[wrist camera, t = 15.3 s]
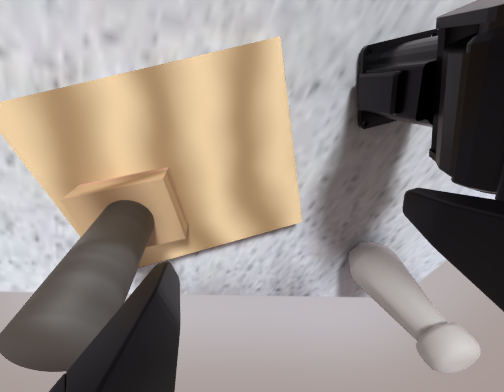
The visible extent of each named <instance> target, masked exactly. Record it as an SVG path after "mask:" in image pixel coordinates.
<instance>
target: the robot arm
mask: <svg viewBox="0 0 504 392" xmlns="http://www.w3.org/2000/svg"><path fill="white" fill-rule="evenodd" d="M437 29H438V30H437ZM431 35H432V37H431ZM367 50H369V54H368V56H367V55H366V52H367ZM358 109H359V111H358V126H359V127H360V128H363V129H367V128H370V127H374V126H378V125H382V124H386V123H389V122H393V121H397V120H398V121H403V122H408V123H414V124H419V125H424V126H429V127H433V129H432V146H431V148H430V150H429V156H430V157H431V158H432V159H433V160H434V161H436V163H437V165H438V167H439V169H441V170H442V171H444V172H445V173H446V174H448V175H449V176H451V177H452V178H451V180H452V182H454V183H456V184H458V185H461V186H464V187H467V188H470V189H474V190H477V191H480V192H484V193H490V194H496V196H495V199H496V200H493V199H487V198H481V197H474V196H468V195H461V194H455V193H449V192H442V191H436V190H429V189H423V188H415V189H411V190H408V191H406V193H405V195H404V202H403V213H404V215H405V216H406V217H407V218H408V219H409V221H410V222H411V223H412V224H413V225H414V226H415V227H416V228H417V229H418V230H419V232H420V233H421V234H422V235H423V236H424V237H425V238H426V239H427V240H428V242H429V243H430V244H431V245H432V246H433V247H434V248H435V249H436V250H437V251H438V252H439V253H441V254H442V255H443V256H444V257H445V258H446V259H447V260H448V261H449V262H450V263H451V264H453V265H454V266H455V267H456V268H457V269H458V270H459V271H460V272H461V273H462V274H463V275H464V276H466V277H467V278H468V279H469V280H470V281H471V282H472V283H473V284H475V286H476V287H477V288H479V289H480V290H481V291H482V292H483V293H484V294H485V295H486V296H487V297H488V298H489V299H491V300H492V301H493V302H494V303H495V304H496V305H497V306H498V307H499V308H500V309H502V310H503V311H504V0H477V1H475V2H472V3H470V4H468V5H465V6H463V7H461V8H458V9H456V10H454V11H451V12H449V13H446V14H444V15H442V16H439V17H437V21H436V29H433V30H429V31H425V32H421V33H417V34H413V35H409V36H404V37H400V38H396V39H392V40H388V41H384V42H380V43H376V44H371V45H367V46H365V47H363V48H362V50H361V53H360V76H359V79H358ZM364 121H366V123H365V125H363V123H364ZM179 336H180V282H179V277H178V275H177V273H176V272H175V270H174V268H173V266H172V265H171V263H170V262H168V261H166V262H163V263H159V264H157V265H156V266H155V267H154V268H153V269H152V270H151V272H150V273H149V274H148V275H147V276H146V277H145V279H144V280H143V281H142V282H141V283H140V285H139V286H138V287H137V288H136V289H135V290H134V292H133V293H132V294H131V295H130V297H129V298H128V299H127V300H126V301H125V302H124V303H123V305H122V306H121V307H120V308H119V309H118V311H117V312H116V313H115V314H114V315H113V316H112V318H111V319H110V320H109V321H108V322H107V324H106V325H105V326H104V327H103V328H102V330H101V331H100V332H99V333H98V334H97V335H96V337H95V338H94V339H93V340H92V341H91V343H90V344H89V345H88V346H87V347H86V348H85V350H84V351H83V352H82V353H81V354H80V355H79V357H78V358H77V359H76V360H75V361H74V363H73V364H72V365H71V366H70V367H69V368H68V370H67V371H66V374H63V376H62V377H61V378H60V379H59V380H58V381H57V383H56V384H55V385H54V386H53V387H52V388H51V390H50V391H49V392H174V390H175V379H176V367H177V356H178V347H179Z"/></svg>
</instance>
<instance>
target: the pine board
mask: <svg viewBox="0 0 504 392" xmlns="http://www.w3.org/2000/svg"><path fill="white" fill-rule="evenodd" d="M0 133H1V134H2V135H3V137H4V138H5V139H6V141H7V142H8V143H9V145H10V146H11V147H12V148H13V150H14V151H15V152H16V154H17V155H18V156H19V158H20V159H21V160H22V161H23V163H24V164H25V165H26V167H27V168H28V169H29V170H30V172H31V173H32V174H33V176H34V177H35V178H36V180H37V181H38V182H39V183H40V185H41V186H42V187H43V189H44V190H45V191H46V193H47V194H48V195H49V196H50V198H51V199H52V200H53V202H54V203H55V204H56V206H57V207H58V208H59V209H60V211H61V212H62V213H63V215H64V216H65V217H66V218H67V220H68V221H69V222H70V224H71V225H72V226H73V228H74V229H75V230H76V231H77V233H78V234H79V235H80V237H82V235H83V233H82V232H81V230H80V229H79V227H78V226H77V224H76V223H75V221H74V220H73V218H72V217H71V215H70V214H69V212H68V211H67V209H66V208H65V206H64V205H63V203H62V202H61V200H60V199H62V198H63V197H64V196H65V195H67V194H68V193H69V192H71V191H72V190H73V189H74V188H76V187H77V186H78V185H80V184H85V183H90V182H95V181H100V180H105V179H111V178H116V177H121V176H126V175H131V174H136V173H141V172H146V171H151V170H156V169H161V168H166V167H169V169H170V172H171V175H172V177H173V180H174V183H175V186H176V189H177V191H178V194H179V197H180V200H181V203H182V206H183V208H184V211H185V214H186V217H187V220H188V227H187V233H186V238H185V239H181V240H177V241H172V242H168V243H163V244H159V245H155V246H150V247H146V248H145V251H144V253H143V256H142V258H141V261H140V263H139V266H138V268H140V267H144V266H147V265H151V264H154V263H158V262H161V261H165V260H169V259H172V258H176V257H179V256H183V255H186V254H190V253H194V252H197V251H201V250H204V249H208V248H211V247H215V246H218V245H222V244H226V243H229V242H233V241H236V240H240V239H243V238H247V237H251V236H254V235H258V234H261V233H265V232H268V231H272V230H276V229H279V228H283V227H286V226H290V225H293V224H297V223H300V222H302V216H301V207H300V199H299V191H298V182H297V174H296V165H295V157H294V148H293V140H292V132H291V123H290V115H289V106H288V98H287V89H286V81H285V73H284V64H283V56H282V47H281V39H280V37H276V38H272V39H268V40H263V41H259V42H255V43H251V44H246V45H242V46H238V47H234V48H229V49H225V50H221V51H216V52H212V53H208V54H204V55H199V56H195V57H191V58H187V59H182V60H178V61H174V62H170V63H165V64H161V65H157V66H153V67H148V68H144V69H140V70H135V71H131V72H127V73H123V74H118V75H114V76H110V77H106V78H101V79H97V80H93V81H89V82H84V83H80V84H76V85H71V86H67V87H63V88H59V89H54V90H50V91H46V92H42V93H37V94H33V95H29V96H25V97H20V98H16V99H12V100H8V101H3V102H0Z"/></svg>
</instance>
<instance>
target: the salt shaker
mask: <svg viewBox="0 0 504 392" xmlns="http://www.w3.org/2000/svg"><path fill="white" fill-rule="evenodd" d="M349 266H350V272H351V275H352V278H353V280H354V281H355V282H356V283H357V284H358V285H359V286H360V287H361V288H362V289H363V290H364V291H365V292H366V293H367V294H368V295H370V296H371V297H372V298H373V299H374V300H375V301H376V302H377V303H378V304H379V305H380V306H381V307H382V308H384V310H385V311H386V312H388V314H390V315H391V316H392V317H393V318H394V319H395V320H396V321H397V322H398V323H399V324H400V325H401V326H402V327H403V328H404V329H405V330H406V331H407V332H408V333H409V334H411V335H412V336H413V337H414V338H415V339H416V340H417V341H418V342H417V343H416V348H417V350H418V353H419V355H420V356H421V357H422V359H423V360H424V362H425V363H426V364H427V365H428V366H429V367H430V368H431V369H432V370H435V371H437V372H440V373H442V374H450V373H455V372H458V371H462V370H463V369H465V368H467V367H469V366H470V365H472V364H473V363H474V362H475V361H476V360H477V358H478V357H479V356H480V347H479V344H478V343H477V342H476V341H475V340H474V338H473V337H472V336H471V335H470V334H469V333H468V332H467V331H466V330H465V329H463V328H462V327H461V326H459V325H458V324H456V323H447V322H446V320H445V319H444V318H443V317H442V315H441V314H440V313H439V311H438V310H437V309H436V308H435V306H434V305H433V304H432V302H431V301H430V300H429V298H428V297H427V296H426V294H425V293H424V292H423V290H422V289H421V288H420V286H419V285H418V283H417V282H416V281H415V279H414V278H413V277H412V275H411V274H410V273H409V271H408V270H407V269H406V267H405V266H404V265H403V263H402V262H401V260H400V259H399V258H398V256H397V255H396V254H395V253H394V252H393V251H391V250H390V249H389V248H387V247H385V246H383V245H380V244H378V243H375V242H373V241H372V242H362V243H359V244H358V245H356V246H355V247H354V248H353V249H352V250H351V251H350V252H349Z"/></svg>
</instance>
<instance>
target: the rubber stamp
mask: <svg viewBox="0 0 504 392" xmlns="http://www.w3.org/2000/svg"><path fill="white" fill-rule="evenodd" d="M60 200H61V202H62V203H63V205H64V206H65V208H66V209H67V211H68V212H69V214H70V215H71V217H72V218H73V220H74V221H75V223H76V224H77V226H78V227H79V229H80V230H81V232H82V233H83V235H82V237H81V238H80V239H79V240H78V241H77V243H76V244H75V245H74V246H73V247H72V249H71V250H70V251H69V252H68V253H67V255H66V256H65V257H64V258H63V259H62V260H61V262H60V263H59V264H58V265H57V266H56V268H55V269H54V270H53V271H52V272H51V274H50V275H49V276H48V277H47V278H46V280H45V281H44V282H43V283H42V284H41V286H40V287H39V288H38V289H37V290H36V292H35V293H34V294H33V295H32V297H30V299H29V300H28V301H27V302H26V303H25V305H24V306H23V307H22V308H21V310H20V311H19V312H18V313H17V314H16V316H15V317H14V318H13V319H12V320H11V321H10V323H9V324H8V325H7V326H6V327H5V329H4V330H3V331H2V332H1V333H0V353H1V354H2V355H3V356H4V357H5V358H6V359H8V360H9V361H11V362H13V363H15V364H17V365H19V366H22V367H25V368H29V369H33V370H38V371H48V372H61V371H67V370H68V368H69V367H70V366H71V365H72V364H73V363H74V361H75V360H76V359H77V358H78V357H79V355H80V354H81V353H82V352H83V351H84V350H85V348H86V347H87V346H88V345H89V344H90V343H91V341H92V340H93V339H94V338H95V337H96V335H97V334H98V333H99V332H100V331H101V330H102V328H103V327H104V326H105V325H106V324H107V322H108V321H109V320H110V319H111V318H112V316H113V315H114V314H115V313H116V312H117V311H118V309H119V308H120V307H121V306H122V305H123V303H124V302H125V299H126V296H127V294H128V292H129V289H130V286H131V284H132V281H133V279H134V276H135V274H136V271H137V269H138V266H139V263H140V261H141V258H142V256H143V253H144V251H145V248H146V247H150V246H155V245H159V244H163V243H168V242H172V241H177V240H181V239H185V238H186V233H187V227H188V220H187V217H186V214H185V211H184V208H183V206H182V203H181V200H180V197H179V194H178V191H177V189H176V186H175V183H174V180H173V177H172V175H171V172H170V169H169V167H166V168H161V169H156V170H151V171H146V172H141V173H136V174H131V175H126V176H121V177H116V178H111V179H105V180H100V181H95V182H90V183H85V184H80V185H78V186H77V187H76V188H74V189H73V190H72V191H71V192H69V193H68V194H67V195H65V196H64V197H63V198H62V199H60Z"/></svg>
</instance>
